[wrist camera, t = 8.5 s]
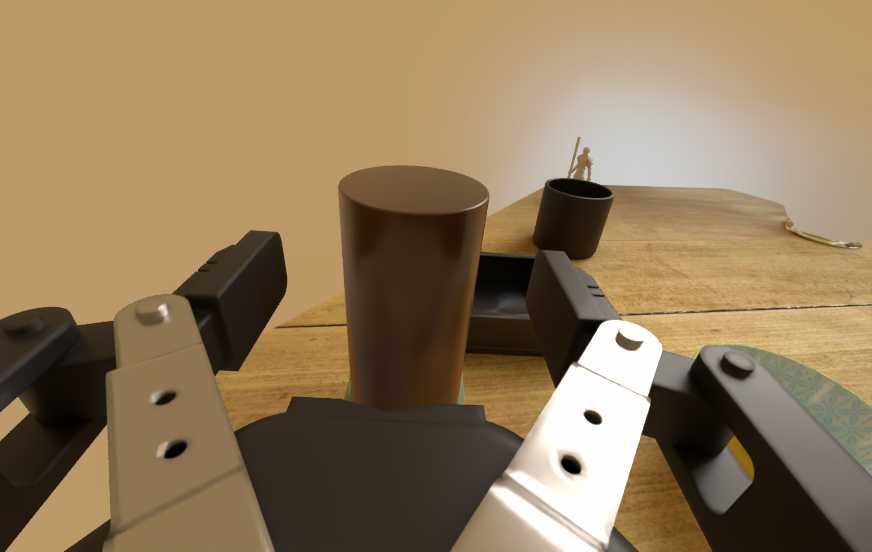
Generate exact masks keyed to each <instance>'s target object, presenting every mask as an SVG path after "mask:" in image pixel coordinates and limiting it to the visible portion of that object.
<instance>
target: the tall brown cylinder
mask: <svg viewBox="0 0 872 552" xmlns="http://www.w3.org/2000/svg"><path fill="white" fill-rule="evenodd" d="M338 194H339V209H340V225H341V238H342V255H343V270H344V287H345V302H346V318H347V334H348V349H349V365H350V380H351V396H352V402H353V403H357V404H361V405H364V406H368V407H372V408H375V409H379V410H382V411H396V410H402V409H408V408H414V407H420V406H425V405H431V404H437V403H440V404H457V403H458V396H459V390H460V383H461V377H462V370H463V364H464V357H465V351H466V344H467V338H468V331H469V325H470V318H471V312H472V305H473V299H474V293H475V286H476V280H477V273H478V267H479V260H480V254H481V247H482V241H483V234H484V228H485V221H486V215H487V208H488V201H489V192H488V190H487V188H486V187H485V186H484V185H483V184H481V183H480V182H478V181H477V180H475V179H473V178H470V177H468V176H465V175H463V174H459V173H456V172H452V171H448V170H443V169H437V168H430V167H421V166H381V167H373V168H368V169H363V170H359V171H356V172H353V173H351V174H349V175H347V176H345V177H344V178H343V179H342V180H341V181H340V182H339V185H338Z"/></svg>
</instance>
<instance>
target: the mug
mask: <svg viewBox="0 0 872 552" xmlns="http://www.w3.org/2000/svg"><path fill="white" fill-rule="evenodd" d="M613 199H614V192H613V191H612V190H610V189H609V188H607V187H605V186H602V185H600V184H597V183H593V182H589V181H585V180H579V179H571V178H555V179H550V180H548V181H547V182H546V183H545V187H544V191H543V195H542V200H541V204H540V208H539V213H538V217H537V221H536V226H535V230H534V234H533V240H534V243H535V244H536V245H537V246H538V247H539V248H540V249H542V250H550V251H563V252H565V253H566V255H567V256H568V258H575V259H578V258H587V257H590V256H592V255H593V254H594V253H595V252H596V249H597V246H598V243H599V240H600V237H601V234H602V231H603V228H604V225H605V222H606V219H607V216H608V213H609V210H610V207H611V204H612V202H613Z"/></svg>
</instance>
